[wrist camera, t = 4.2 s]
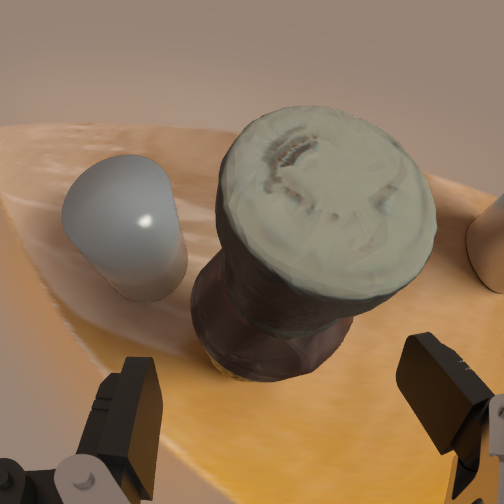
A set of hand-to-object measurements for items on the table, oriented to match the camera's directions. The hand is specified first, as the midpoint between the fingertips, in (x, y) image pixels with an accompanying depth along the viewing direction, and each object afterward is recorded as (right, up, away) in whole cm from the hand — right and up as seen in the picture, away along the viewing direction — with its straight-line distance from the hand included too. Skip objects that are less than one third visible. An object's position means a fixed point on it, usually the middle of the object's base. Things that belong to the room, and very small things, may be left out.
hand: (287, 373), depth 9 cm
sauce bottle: (-1, -3, +14) cm, 15 cm away
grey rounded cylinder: (-10, +3, +16) cm, 19 cm away
